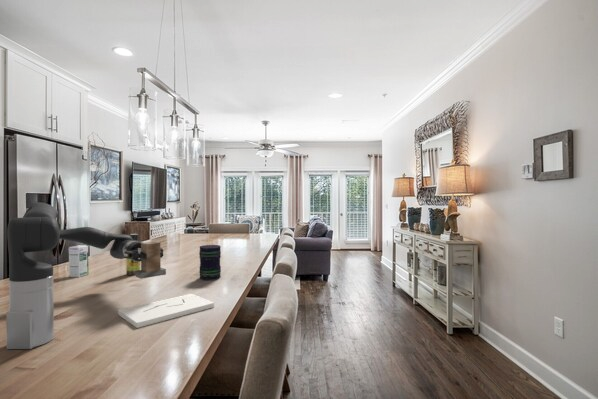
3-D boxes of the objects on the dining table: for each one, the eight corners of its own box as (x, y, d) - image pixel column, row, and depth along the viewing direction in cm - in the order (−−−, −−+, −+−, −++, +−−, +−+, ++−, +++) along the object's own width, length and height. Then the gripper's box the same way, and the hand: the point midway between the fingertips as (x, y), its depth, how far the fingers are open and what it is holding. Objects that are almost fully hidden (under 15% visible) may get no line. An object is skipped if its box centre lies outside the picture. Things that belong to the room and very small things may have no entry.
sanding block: (140, 278, 119) (140, 244, 119) (135, 276, 122) (135, 243, 122) (165, 274, 125) (165, 242, 125) (160, 272, 129) (160, 241, 129)
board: (137, 327, 99) (137, 322, 99) (118, 314, 111) (118, 310, 111) (214, 307, 118) (214, 302, 118) (191, 297, 129) (191, 293, 129)
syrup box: (79, 277, 161) (78, 247, 161) (68, 276, 162) (68, 246, 162) (88, 274, 166) (88, 245, 166) (78, 274, 168) (78, 244, 168)
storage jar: (212, 274, 167) (212, 244, 167) (225, 277, 161) (225, 246, 161) (195, 278, 160) (195, 246, 159) (207, 281, 153) (207, 248, 153)
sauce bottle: (131, 276, 163) (131, 235, 163) (123, 274, 166) (123, 234, 166) (143, 273, 169) (143, 233, 169) (135, 272, 172) (135, 233, 172)
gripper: (116, 242, 129) (133, 247, 117) (154, 239, 139) (173, 243, 127) (116, 262, 129) (133, 269, 117) (154, 257, 139) (173, 263, 127)
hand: (153, 255), depth 122 cm, fingers closed on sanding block, 5 cm apart
